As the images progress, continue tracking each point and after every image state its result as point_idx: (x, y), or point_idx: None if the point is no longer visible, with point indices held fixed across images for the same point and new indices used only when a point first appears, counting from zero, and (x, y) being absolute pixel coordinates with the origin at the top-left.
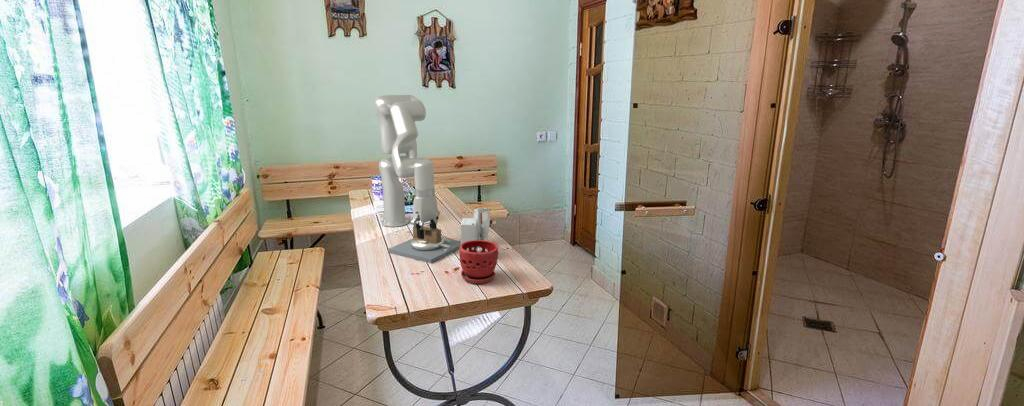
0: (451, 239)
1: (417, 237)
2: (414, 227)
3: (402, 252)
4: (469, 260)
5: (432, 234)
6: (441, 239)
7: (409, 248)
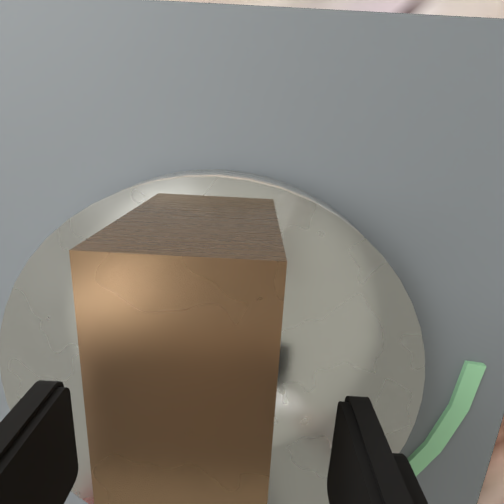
0: (486, 445)
1: (36, 387)
2: (75, 308)
3: None
4: None
5: None
6: (310, 502)
7: (35, 235)
